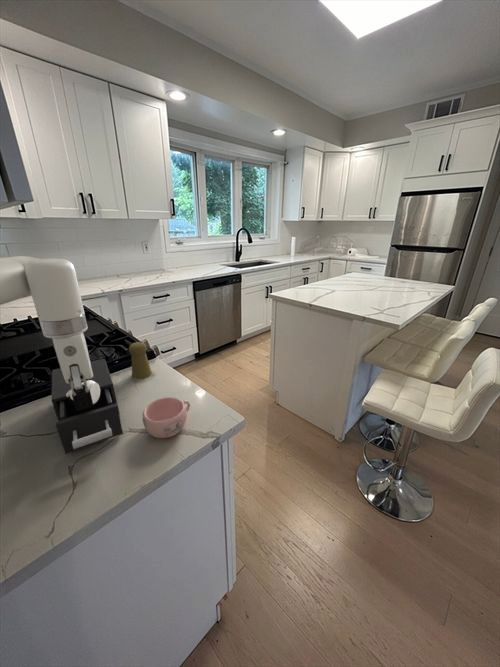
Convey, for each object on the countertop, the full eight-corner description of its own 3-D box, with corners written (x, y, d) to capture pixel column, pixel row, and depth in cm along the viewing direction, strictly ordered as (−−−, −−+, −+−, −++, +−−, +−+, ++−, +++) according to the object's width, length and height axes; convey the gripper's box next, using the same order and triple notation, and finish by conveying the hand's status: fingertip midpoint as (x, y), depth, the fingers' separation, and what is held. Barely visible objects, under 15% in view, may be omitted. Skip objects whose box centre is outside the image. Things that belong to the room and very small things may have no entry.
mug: (159, 451, 61) (155, 429, 58) (137, 429, 67) (133, 409, 65) (202, 423, 69) (201, 404, 66) (179, 406, 75) (177, 388, 73)
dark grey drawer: (127, 447, 60) (121, 418, 57) (66, 471, 55) (55, 440, 52) (113, 401, 75) (107, 376, 72) (63, 416, 70) (55, 390, 67)
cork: (135, 381, 86) (130, 349, 82) (129, 373, 91) (124, 343, 86) (154, 375, 90) (150, 344, 86) (147, 367, 94) (143, 338, 90)
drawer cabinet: (119, 415, 72) (113, 383, 68) (62, 433, 65) (51, 400, 61) (110, 386, 84) (104, 358, 80) (61, 399, 77) (52, 369, 74)
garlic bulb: (77, 395, 65) (72, 375, 63) (103, 395, 65) (98, 375, 63) (62, 410, 60) (56, 388, 57) (90, 410, 60) (85, 389, 58)
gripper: (90, 335, 50) (108, 416, 57) (83, 309, 63) (98, 377, 70) (39, 344, 46) (65, 429, 53) (42, 314, 59) (63, 386, 66)
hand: (83, 399), depth 61 cm, fingers closed on garlic bulb, 5 cm apart
